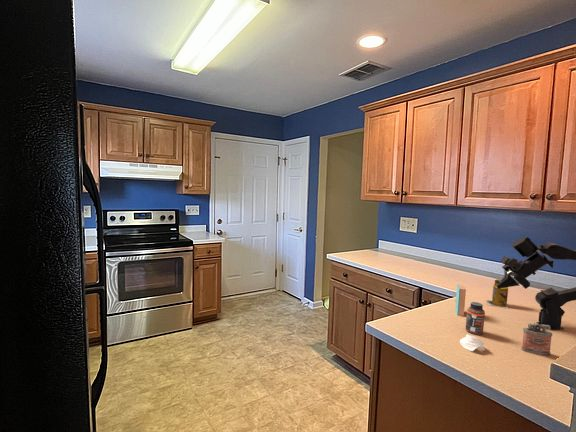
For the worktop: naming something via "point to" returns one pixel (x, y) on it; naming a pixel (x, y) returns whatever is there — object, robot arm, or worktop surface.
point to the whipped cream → (471, 343)
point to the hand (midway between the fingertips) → (497, 287)
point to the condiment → (499, 296)
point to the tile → (460, 300)
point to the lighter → (537, 339)
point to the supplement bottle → (475, 318)
